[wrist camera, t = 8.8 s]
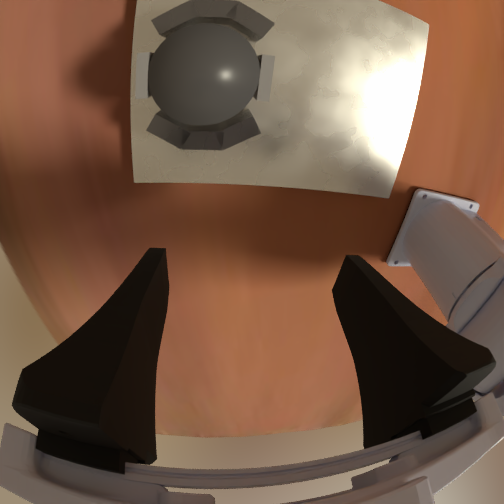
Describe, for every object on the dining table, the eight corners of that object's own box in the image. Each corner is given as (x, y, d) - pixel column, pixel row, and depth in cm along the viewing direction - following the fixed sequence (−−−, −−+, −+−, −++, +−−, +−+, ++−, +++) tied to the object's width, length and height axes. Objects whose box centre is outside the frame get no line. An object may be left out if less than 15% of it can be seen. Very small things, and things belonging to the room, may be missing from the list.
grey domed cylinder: (261, 39, 12) (278, 29, 8) (253, 110, 15) (265, 129, 11) (163, 36, 11) (139, 26, 7) (159, 107, 14) (135, 126, 10)
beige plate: (420, 24, 12) (452, 25, 9) (382, 192, 20) (405, 215, 17) (146, -25, 9) (129, -42, 6) (137, 176, 18) (123, 200, 15)
